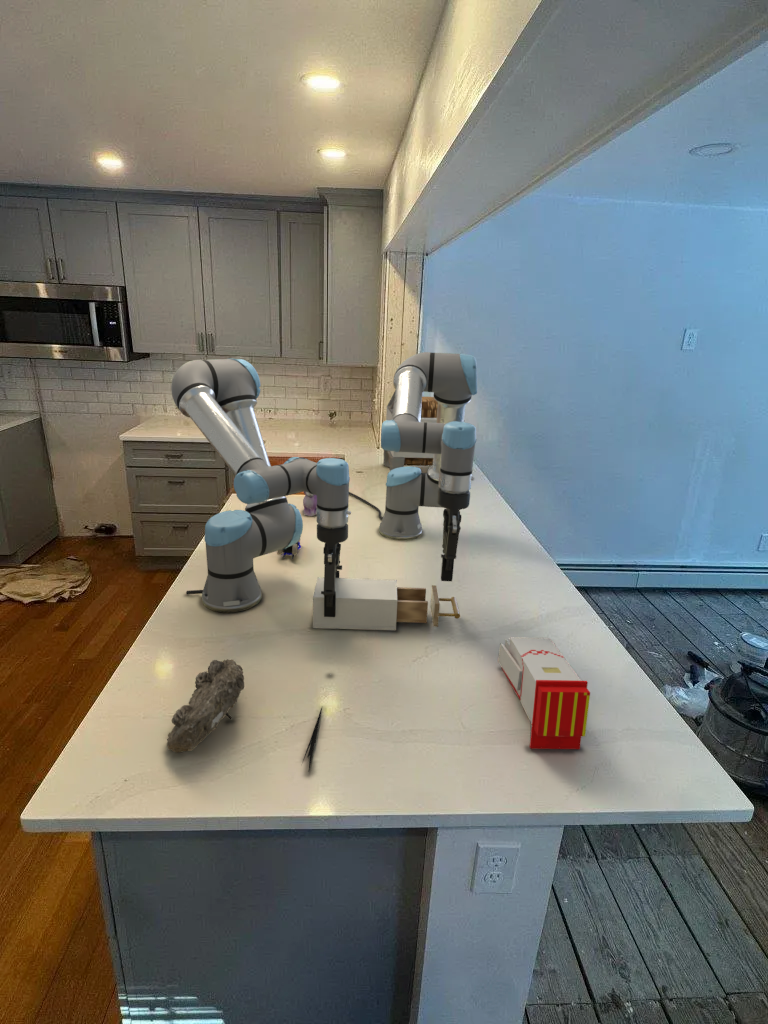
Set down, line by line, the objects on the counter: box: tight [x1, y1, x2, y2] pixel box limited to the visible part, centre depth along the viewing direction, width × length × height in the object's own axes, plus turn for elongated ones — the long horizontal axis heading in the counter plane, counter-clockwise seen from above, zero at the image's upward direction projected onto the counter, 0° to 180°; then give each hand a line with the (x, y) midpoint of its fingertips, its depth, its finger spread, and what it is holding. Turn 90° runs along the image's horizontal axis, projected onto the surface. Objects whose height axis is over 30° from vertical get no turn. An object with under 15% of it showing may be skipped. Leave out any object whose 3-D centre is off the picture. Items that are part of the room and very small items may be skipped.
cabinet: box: [312, 576, 398, 631], centre depth 143 cm, size 20×11×8 cm, turn 90°
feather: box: [301, 673, 332, 771], centre depth 108 cm, size 2×28×2 cm
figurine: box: [302, 492, 317, 517], centre depth 214 cm, size 9×10×15 cm
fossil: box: [166, 658, 245, 754], centre depth 106 cm, size 22×10×15 cm
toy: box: [497, 636, 591, 750], centre depth 115 cm, size 12×13×30 cm
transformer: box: [383, 390, 465, 472], centre depth 268 cm, size 34×33×41 cm
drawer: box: [396, 584, 461, 628], centre depth 143 cm, size 24×10×6 cm, turn 90°
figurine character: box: [276, 538, 302, 560], centre depth 180 cm, size 7×8×15 cm
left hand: (331, 604), depth 143 cm, fingers closed on cabinet, 11 cm apart
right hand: (446, 579), depth 141 cm, fingers closed
